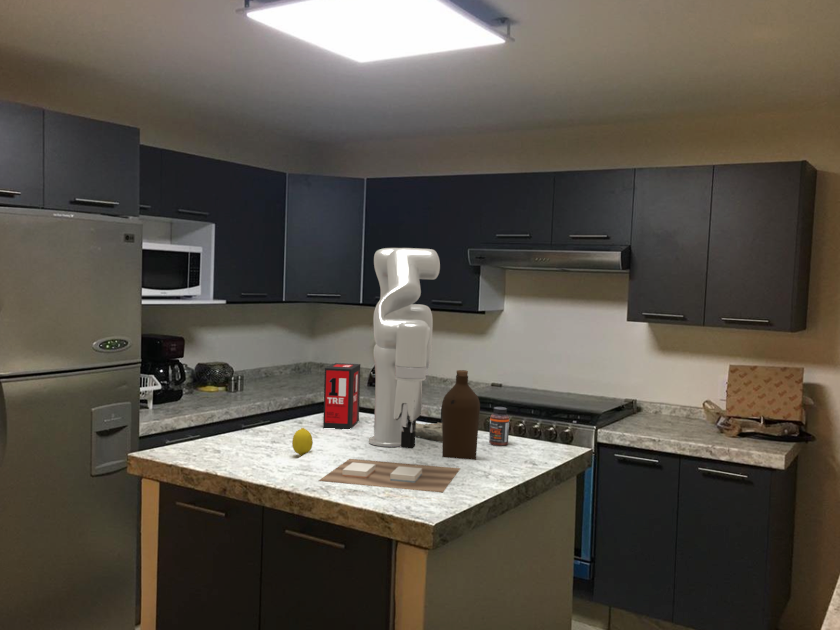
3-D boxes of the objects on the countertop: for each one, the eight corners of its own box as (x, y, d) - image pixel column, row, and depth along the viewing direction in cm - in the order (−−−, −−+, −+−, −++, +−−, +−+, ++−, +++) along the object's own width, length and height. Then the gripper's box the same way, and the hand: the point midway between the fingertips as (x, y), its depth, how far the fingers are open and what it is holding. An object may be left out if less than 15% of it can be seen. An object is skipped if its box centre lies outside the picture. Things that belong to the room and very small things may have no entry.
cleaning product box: (349, 429, 252) (351, 369, 252) (323, 428, 253) (324, 368, 252) (358, 421, 269) (360, 364, 268) (333, 419, 270) (335, 363, 269)
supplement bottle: (486, 444, 236) (487, 408, 235) (492, 441, 241) (493, 405, 241) (505, 447, 233) (506, 410, 233) (510, 443, 239) (511, 407, 238)
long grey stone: (395, 429, 264) (374, 434, 256) (394, 414, 264) (373, 419, 256) (474, 440, 240) (454, 446, 233) (473, 424, 240) (453, 429, 232)
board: (349, 464, 205) (349, 458, 205) (460, 474, 198) (460, 468, 198) (318, 487, 182) (318, 480, 182) (442, 498, 175) (442, 492, 175)
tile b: (398, 466, 192) (390, 473, 184) (422, 468, 190) (414, 476, 183) (398, 472, 192) (390, 480, 184) (421, 474, 190) (414, 482, 183)
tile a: (352, 462, 194) (342, 469, 186) (375, 464, 193) (366, 471, 185) (352, 468, 194) (342, 476, 187) (375, 470, 193) (366, 478, 185)
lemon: (308, 459, 209) (308, 430, 209) (288, 458, 210) (289, 428, 210) (315, 455, 214) (315, 426, 214) (296, 453, 215) (296, 425, 215)
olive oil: (479, 464, 209) (482, 373, 208) (440, 463, 209) (443, 372, 208) (476, 456, 220) (479, 369, 219) (439, 454, 220) (442, 367, 219)
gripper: (403, 368, 195) (400, 439, 196) (387, 376, 181) (385, 453, 182) (431, 370, 194) (429, 442, 195) (418, 378, 179) (415, 455, 180)
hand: (407, 447), depth 188 cm, fingers closed
